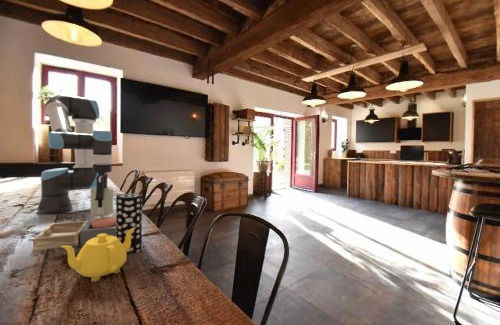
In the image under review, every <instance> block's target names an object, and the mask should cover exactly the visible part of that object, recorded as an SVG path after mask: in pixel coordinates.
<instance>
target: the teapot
mask: <svg viewBox="0 0 500 325" xmlns="http://www.w3.org/2000/svg"><path fill="white" fill-rule="evenodd" d="M135 228H136V227H134V228H132V229H130V230H129V231H128V232H127V234H126V238H125V241H124V243H123V244H122V243H121V242H120V240H119V239H118V238H117V237H115V236H111V235H107V234H105V233H103V234H99V235H97V237H95V238H92V239H90V240H88V241H87V242H86V243H85V244H83V245H82V247H81V249H80V250H79V252H78V254H77V255H76V254H75V249H74V246H61V247H60V248H62V249H65V250H66V253H67V263H68V266H70V268H72V269H74V270H75V271H76V272H77V273H78V274H79V275H81V276H83V277H85V278H91V279H90V282H92V283H96V282H99V281H100V280H101V279H102V278H101V277H104V276H108V275H111V274H114V275H116V274H119V273H121V271H122V270H121V267H122V266H123V265H124V264H125V263H126V261H127V258H128V257H127V255H128V254H126V253H127V252H128V250H129V249H130V246H131V234H132V232H133V230H134V229H135Z"/></svg>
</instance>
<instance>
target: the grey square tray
mask: <svg viewBox="0 0 500 325" xmlns="http://www.w3.org/2000/svg"><path fill="white" fill-rule="evenodd" d="M93 220H94V219H90V220H86V221H87V223H86V224H85V225H84V227H83V228H82V230H81V231H80V243H79V245H84V244H85V243H86V242H87V241H88V240H90V239H92V238H95V237H97V235H99V234H103V233H105V234H107V235H111V236H115V237H116V226H115V227H104V228H93V229H92V221H93Z"/></svg>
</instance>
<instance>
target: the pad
mask: <svg viewBox="0 0 500 325" xmlns="http://www.w3.org/2000/svg"><path fill="white" fill-rule="evenodd" d="M92 220H93V221H92V229H93V228H104V227H115V226H116V216H115V217H114V216H107V217H106V216H105V217H104V216H103V217H99V218H95V219H92Z"/></svg>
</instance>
